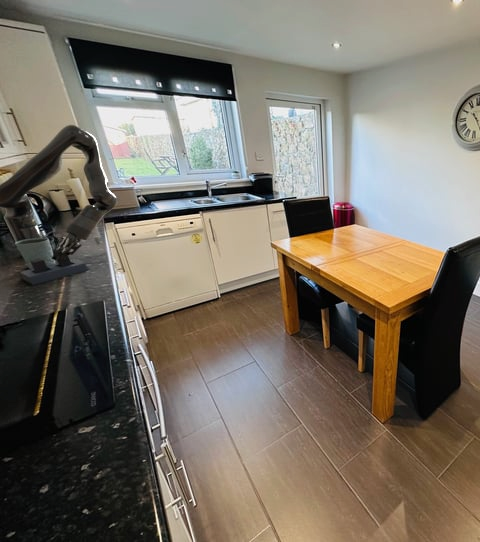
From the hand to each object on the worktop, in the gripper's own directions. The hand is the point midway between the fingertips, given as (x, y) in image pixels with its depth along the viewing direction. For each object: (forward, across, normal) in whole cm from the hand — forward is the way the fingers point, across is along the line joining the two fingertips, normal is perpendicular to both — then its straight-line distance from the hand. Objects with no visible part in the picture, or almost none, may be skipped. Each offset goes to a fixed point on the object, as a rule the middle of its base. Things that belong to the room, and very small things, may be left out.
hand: (56, 260), depth 120 cm
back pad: (+2, 0, -4) cm, 5 cm away
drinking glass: (+5, +18, -4) cm, 19 cm away
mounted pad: (+8, 0, 0) cm, 8 cm away
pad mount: (+6, 0, -3) cm, 6 cm away
